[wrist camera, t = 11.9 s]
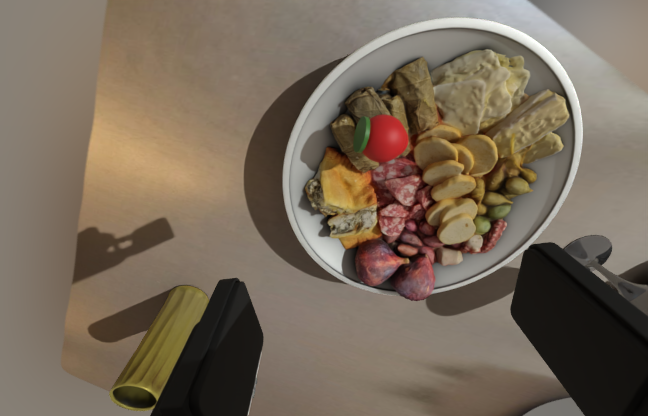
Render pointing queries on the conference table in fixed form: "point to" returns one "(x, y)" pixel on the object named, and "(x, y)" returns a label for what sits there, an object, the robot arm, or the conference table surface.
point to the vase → (159, 350)
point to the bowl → (434, 157)
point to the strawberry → (380, 138)
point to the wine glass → (593, 256)
